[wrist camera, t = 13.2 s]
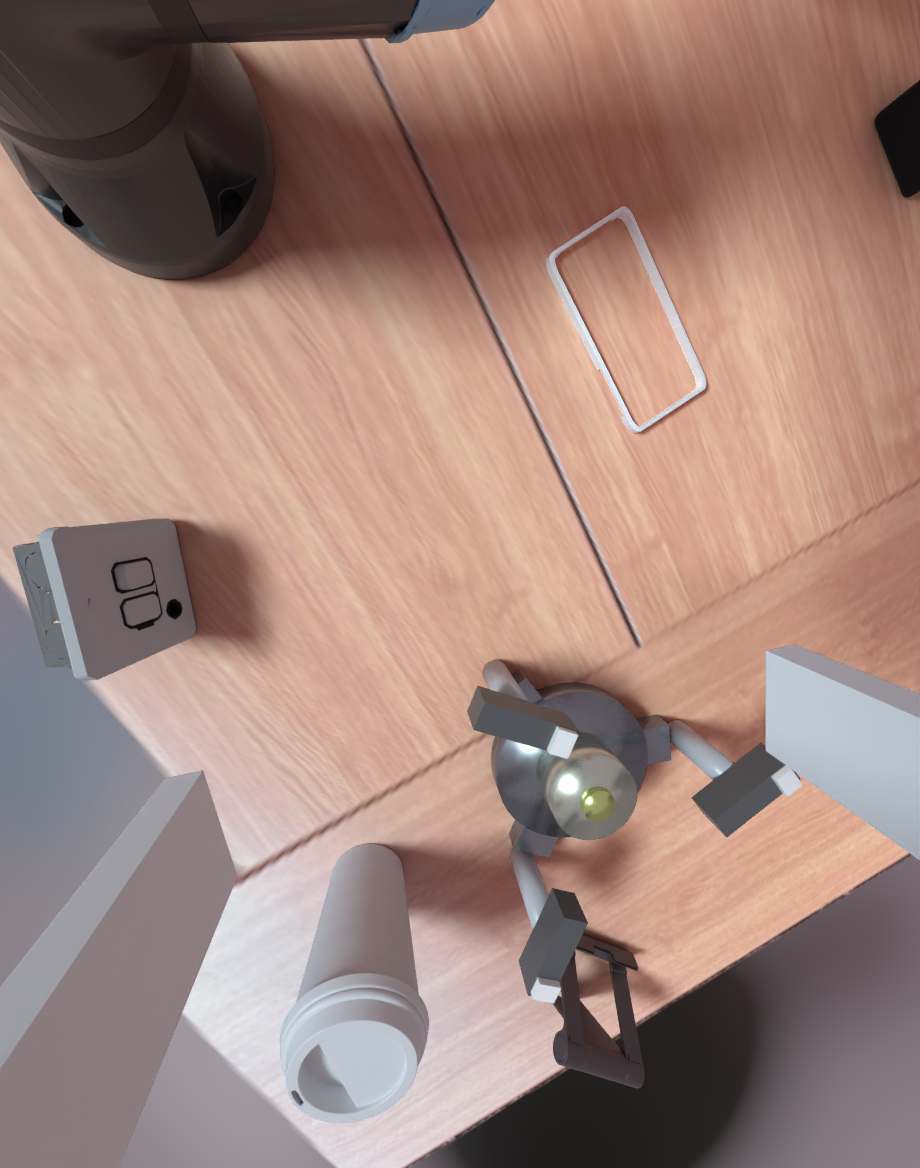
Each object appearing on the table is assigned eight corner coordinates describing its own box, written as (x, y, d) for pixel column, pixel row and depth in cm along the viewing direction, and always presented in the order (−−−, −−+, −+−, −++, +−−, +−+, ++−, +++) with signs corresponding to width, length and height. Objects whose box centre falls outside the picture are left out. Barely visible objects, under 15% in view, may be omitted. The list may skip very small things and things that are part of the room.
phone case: (699, 389, 38) (619, 212, 35) (710, 385, 37) (628, 201, 34) (627, 437, 38) (540, 264, 35) (636, 434, 37) (546, 255, 34)
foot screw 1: (453, 671, 39) (474, 735, 29) (462, 648, 39) (486, 704, 28) (525, 694, 40) (570, 762, 30) (535, 672, 40) (583, 733, 30)
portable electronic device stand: (630, 947, 48) (677, 1038, 40) (591, 1004, 49) (630, 1104, 41) (563, 921, 46) (599, 1011, 38) (524, 980, 47) (551, 1081, 39)
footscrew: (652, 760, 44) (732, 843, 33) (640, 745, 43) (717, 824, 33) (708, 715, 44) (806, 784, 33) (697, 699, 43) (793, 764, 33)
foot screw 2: (524, 820, 43) (565, 924, 33) (545, 826, 43) (591, 929, 33) (497, 882, 44) (528, 1002, 33) (517, 886, 44) (554, 1006, 34)
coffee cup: (314, 832, 41) (267, 1019, 26) (420, 825, 42) (433, 1000, 27) (316, 922, 42) (274, 1144, 28) (418, 912, 44) (429, 1120, 29)
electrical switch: (200, 634, 36) (119, 681, 27) (134, 640, 36) (30, 689, 27) (176, 516, 34) (80, 524, 25) (107, 522, 34) (-15, 532, 25)
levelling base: (478, 677, 40) (496, 719, 32) (652, 642, 42) (708, 674, 34) (504, 851, 44) (526, 924, 36) (663, 813, 45) (715, 875, 38)
